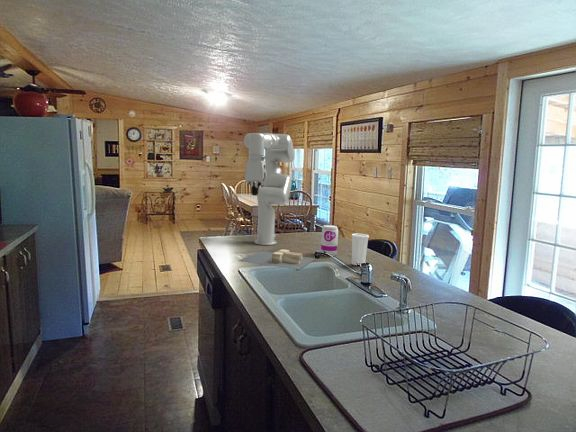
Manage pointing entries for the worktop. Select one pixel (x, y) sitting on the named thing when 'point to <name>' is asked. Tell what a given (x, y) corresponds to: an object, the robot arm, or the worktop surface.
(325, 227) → the supplement can
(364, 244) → the cup
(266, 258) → the mat
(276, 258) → the t block
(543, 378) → the worktop surface
